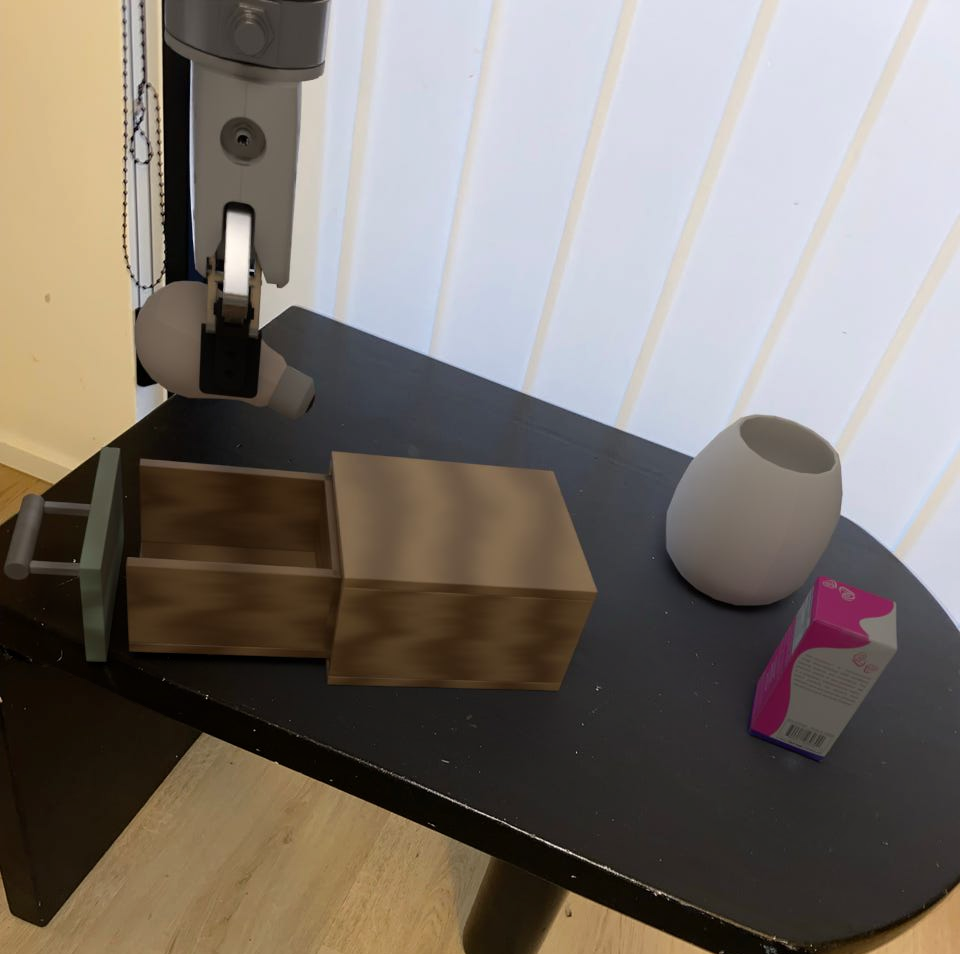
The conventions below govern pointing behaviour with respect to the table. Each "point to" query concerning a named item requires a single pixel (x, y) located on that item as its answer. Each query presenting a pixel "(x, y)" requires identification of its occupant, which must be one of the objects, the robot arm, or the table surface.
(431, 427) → the table surface
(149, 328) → the light bulb
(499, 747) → the table surface
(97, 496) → the drawer
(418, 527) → the cabinet
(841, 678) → the supplement box
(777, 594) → the cup
